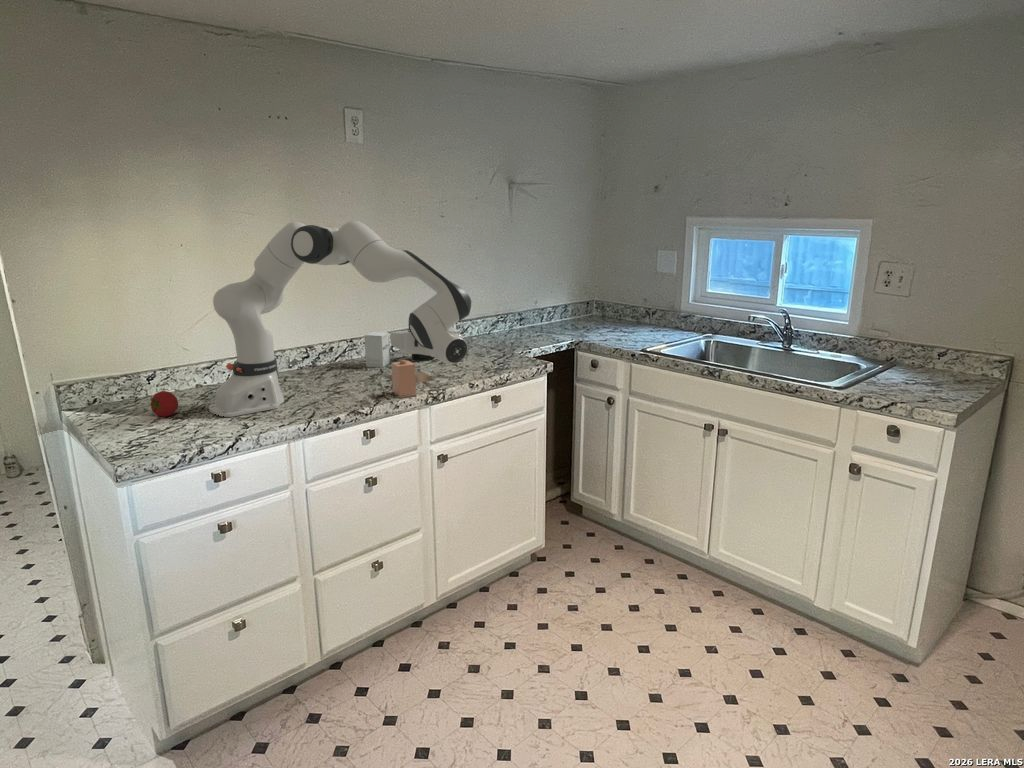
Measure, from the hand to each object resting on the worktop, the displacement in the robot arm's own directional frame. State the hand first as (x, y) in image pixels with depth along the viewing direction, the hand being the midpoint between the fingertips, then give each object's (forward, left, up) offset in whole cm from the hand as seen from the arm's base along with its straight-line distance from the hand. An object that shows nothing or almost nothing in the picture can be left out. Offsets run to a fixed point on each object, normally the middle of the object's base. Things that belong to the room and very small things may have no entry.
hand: (414, 331), depth 202 cm
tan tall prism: (+3, +11, -24) cm, 26 cm away
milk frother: (+43, +42, -24) cm, 64 cm away
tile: (+16, +24, -24) cm, 37 cm away
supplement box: (+22, +51, -24) cm, 60 cm away
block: (+16, +24, -23) cm, 36 cm away
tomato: (-59, +48, -24) cm, 79 cm away
